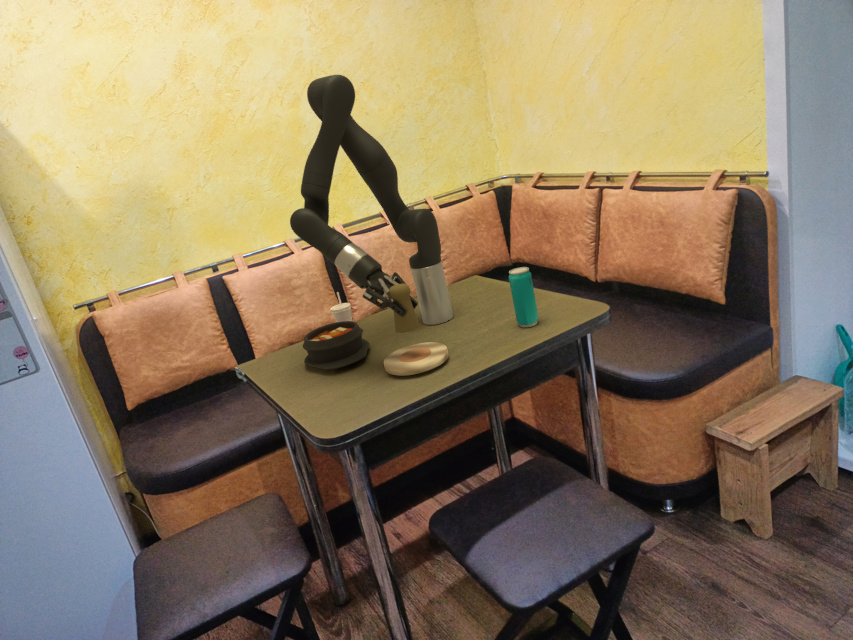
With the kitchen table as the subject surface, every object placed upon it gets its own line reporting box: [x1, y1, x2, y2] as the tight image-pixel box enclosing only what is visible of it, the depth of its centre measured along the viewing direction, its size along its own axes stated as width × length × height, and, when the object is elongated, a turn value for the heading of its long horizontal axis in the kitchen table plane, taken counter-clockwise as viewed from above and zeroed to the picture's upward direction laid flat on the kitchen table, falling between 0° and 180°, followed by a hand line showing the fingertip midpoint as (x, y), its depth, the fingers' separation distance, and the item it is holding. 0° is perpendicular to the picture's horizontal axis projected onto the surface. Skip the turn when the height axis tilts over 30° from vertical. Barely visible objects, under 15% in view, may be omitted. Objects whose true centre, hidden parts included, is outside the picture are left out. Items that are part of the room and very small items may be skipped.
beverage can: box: [508, 266, 539, 329], centre depth 155 cm, size 6×6×15 cm
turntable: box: [383, 341, 449, 376], centre depth 148 cm, size 16×16×3 cm
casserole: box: [302, 320, 371, 371], centre depth 164 cm, size 25×19×8 cm
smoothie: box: [330, 291, 353, 323], centre depth 181 cm, size 6×6×14 cm
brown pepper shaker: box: [389, 283, 421, 334], centre depth 143 cm, size 6×6×11 cm
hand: (410, 310), depth 143 cm, fingers closed on brown pepper shaker, 4 cm apart
